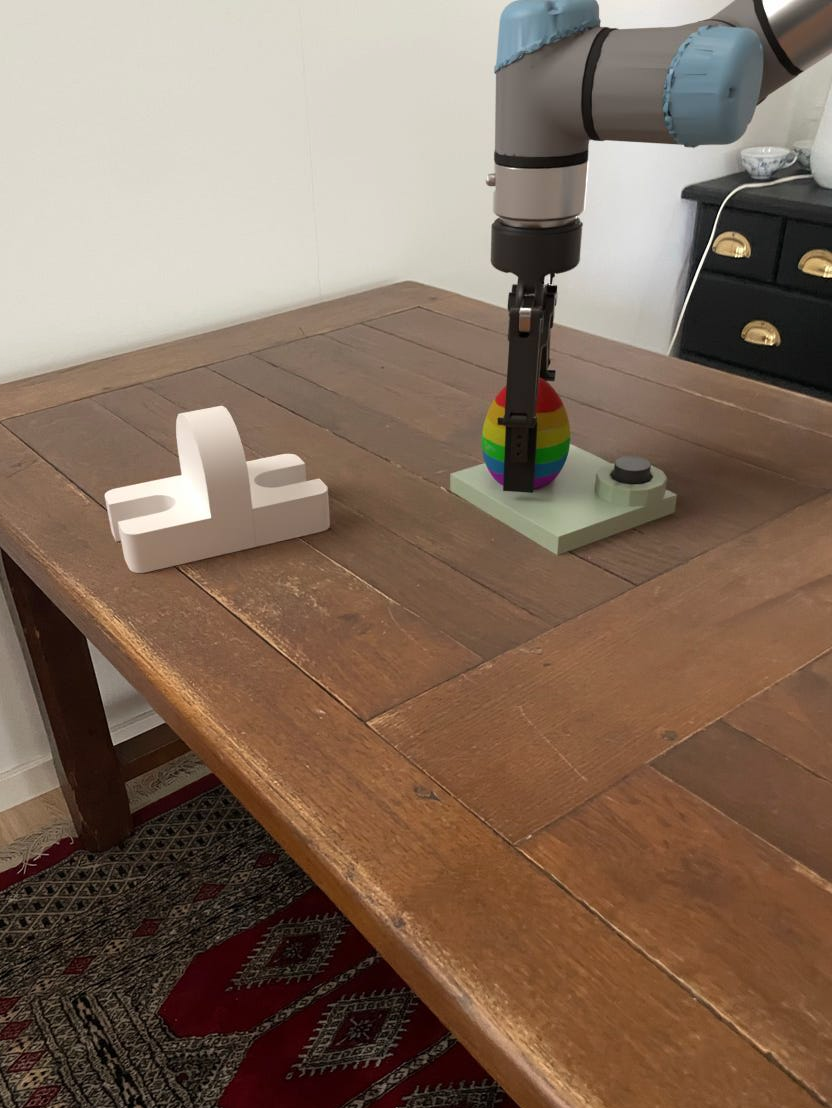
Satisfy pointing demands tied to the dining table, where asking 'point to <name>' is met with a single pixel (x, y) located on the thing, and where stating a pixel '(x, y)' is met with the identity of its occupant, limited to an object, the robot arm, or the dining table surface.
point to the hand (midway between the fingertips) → (524, 468)
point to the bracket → (214, 499)
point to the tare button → (631, 470)
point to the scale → (569, 502)
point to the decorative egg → (549, 436)
